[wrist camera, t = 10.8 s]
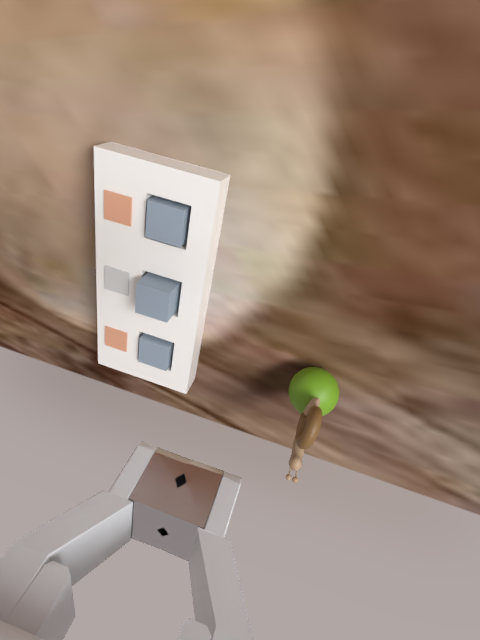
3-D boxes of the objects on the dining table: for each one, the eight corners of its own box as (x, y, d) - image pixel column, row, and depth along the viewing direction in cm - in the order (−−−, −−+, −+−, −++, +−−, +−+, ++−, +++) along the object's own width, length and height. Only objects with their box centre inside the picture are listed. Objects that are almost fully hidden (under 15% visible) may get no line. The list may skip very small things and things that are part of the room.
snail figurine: (284, 390, 47) (263, 472, 37) (301, 350, 43) (283, 430, 33) (327, 405, 46) (317, 493, 37) (347, 367, 43) (343, 452, 33)
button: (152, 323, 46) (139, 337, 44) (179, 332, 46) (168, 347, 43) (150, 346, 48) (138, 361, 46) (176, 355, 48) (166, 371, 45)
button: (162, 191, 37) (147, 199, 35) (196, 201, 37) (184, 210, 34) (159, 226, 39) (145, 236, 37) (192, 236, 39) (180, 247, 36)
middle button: (150, 269, 41) (136, 282, 38) (182, 279, 40) (169, 293, 38) (148, 298, 43) (135, 312, 40) (178, 307, 42) (166, 322, 40)
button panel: (111, 141, 37) (92, 146, 34) (230, 174, 35) (219, 181, 33) (110, 349, 51) (97, 364, 49) (194, 378, 50) (185, 395, 47)
